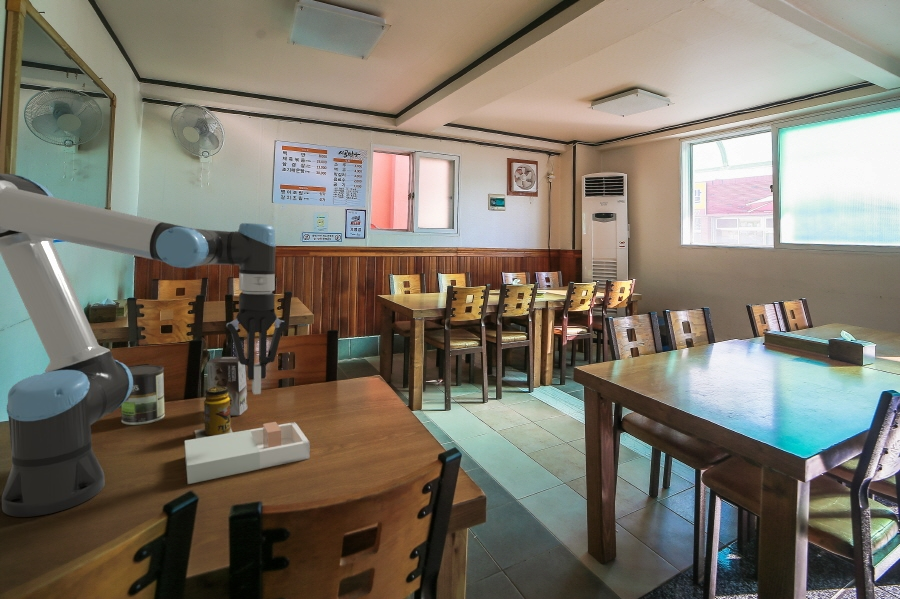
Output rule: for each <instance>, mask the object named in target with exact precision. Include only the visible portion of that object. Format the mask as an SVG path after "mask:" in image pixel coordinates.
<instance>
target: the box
mask: <svg viewBox="0 0 900 599" xmlns="http://www.w3.org/2000/svg"><path fill="white" fill-rule="evenodd" d="M278 426H279V428H280V429H281V446H276V447H270V448H265V449H264V448H263V427H258V428H253V429H249V430H250V431H251V434H252V436H253V438H254V440H255V443H256V445H257V447H258V449H259V451H260V469H259V470H261V469H265V468H270V467H274V466H275V467H276V466H281V465H283V464H285V465H286V464H289V463H294V462H299V461H305V460H309V459H310V458H311V457H310V456H311V455H310V453H311V452H310V451H311V450H310V448H311V447H310V444H311V443H310V440H308V438H307V436H306V435H305V434H304V432H303V431H302V430H301V428H300V427H299V425H298V424H297V423H296V422H295V421H294V422H288V423H282V424H278Z"/></svg>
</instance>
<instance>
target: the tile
mask: <svg viewBox="0 0 900 599" xmlns="http://www.w3.org/2000/svg"><path fill="white" fill-rule="evenodd" d="M278 425H279V424H278V423H277V421H272V422H266V423H263V424H262V428H263V448H264V449H265V448H270V447H276V446H281V429H280V428H279V426H278Z"/></svg>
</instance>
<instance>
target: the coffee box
mask: <svg viewBox="0 0 900 599" xmlns="http://www.w3.org/2000/svg"><path fill="white" fill-rule="evenodd" d="M245 358H246V359H247V356H245ZM206 374H207V376H206V377H207V389H209V388H212V387H218V386H222V387H227V388H228V397H229V398H230V416H241V415H242V414H243V413H244V412H246V411H247V410H248V386H247V385H248V384H247V381H248V380H247V379H248V377H247V365H242V364H240V362H239V360H238V356H214V357H213V358H211V359H210V360H208V361H207V362H206Z"/></svg>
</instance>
